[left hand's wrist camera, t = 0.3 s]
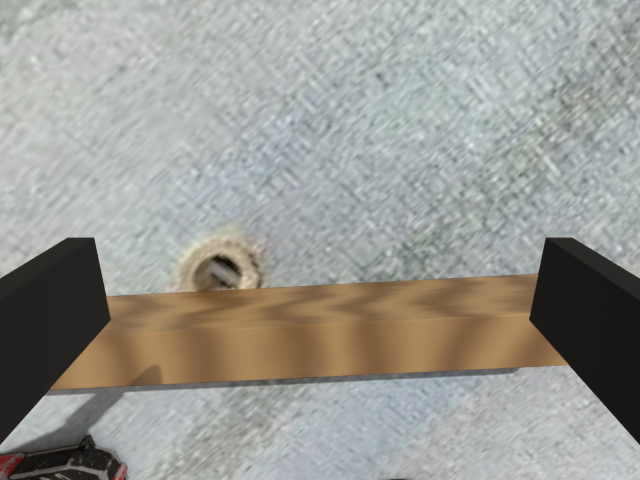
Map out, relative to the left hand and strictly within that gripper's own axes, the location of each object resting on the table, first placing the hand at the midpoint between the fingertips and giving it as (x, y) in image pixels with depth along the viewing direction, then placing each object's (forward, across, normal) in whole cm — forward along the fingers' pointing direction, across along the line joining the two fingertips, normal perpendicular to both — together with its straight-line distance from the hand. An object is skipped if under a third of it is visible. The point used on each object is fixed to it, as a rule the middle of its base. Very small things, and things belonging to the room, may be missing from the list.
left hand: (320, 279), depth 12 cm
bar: (+28, +11, +18) cm, 34 cm away
